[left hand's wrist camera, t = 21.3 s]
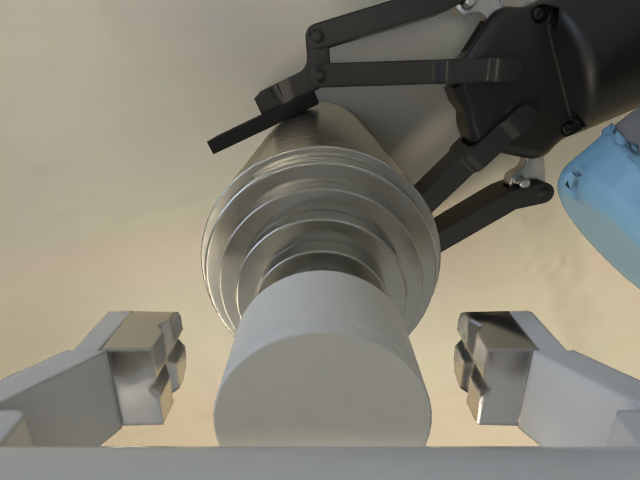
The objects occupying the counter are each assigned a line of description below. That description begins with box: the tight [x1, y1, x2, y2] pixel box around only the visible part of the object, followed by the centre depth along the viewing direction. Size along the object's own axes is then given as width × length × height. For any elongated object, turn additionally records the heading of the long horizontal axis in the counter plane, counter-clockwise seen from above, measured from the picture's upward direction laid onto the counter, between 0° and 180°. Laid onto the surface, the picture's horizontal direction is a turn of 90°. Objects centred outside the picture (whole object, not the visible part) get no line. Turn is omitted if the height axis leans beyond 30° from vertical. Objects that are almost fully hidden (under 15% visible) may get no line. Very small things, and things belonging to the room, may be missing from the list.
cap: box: [213, 270, 432, 446], centre depth 9 cm, size 4×4×2 cm
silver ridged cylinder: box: [201, 102, 441, 337], centre depth 21 cm, size 8×8×26 cm
